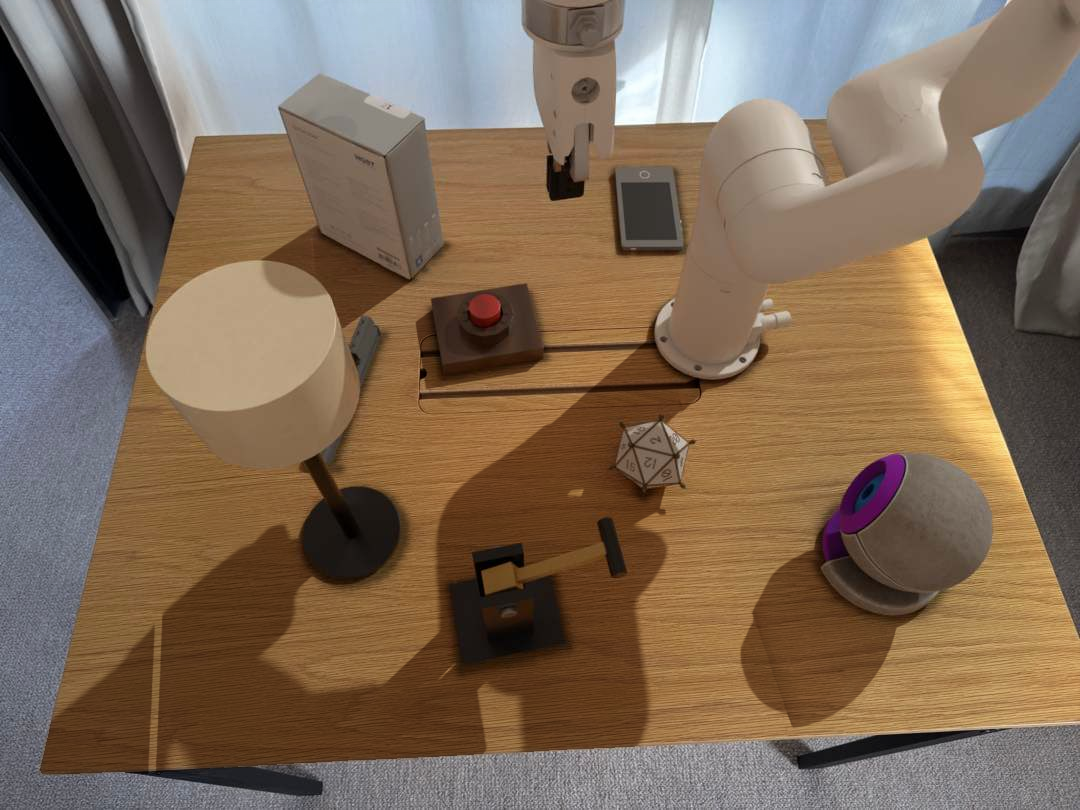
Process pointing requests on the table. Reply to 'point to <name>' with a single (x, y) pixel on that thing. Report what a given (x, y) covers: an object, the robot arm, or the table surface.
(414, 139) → the hard drive box
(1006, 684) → the table surface
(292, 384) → the desk lamp
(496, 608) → the switch bracket
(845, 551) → the webcam
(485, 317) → the red push button
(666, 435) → the game die
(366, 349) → the grey long bar
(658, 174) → the smartphone
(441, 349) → the button block
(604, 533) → the tan handled piece
